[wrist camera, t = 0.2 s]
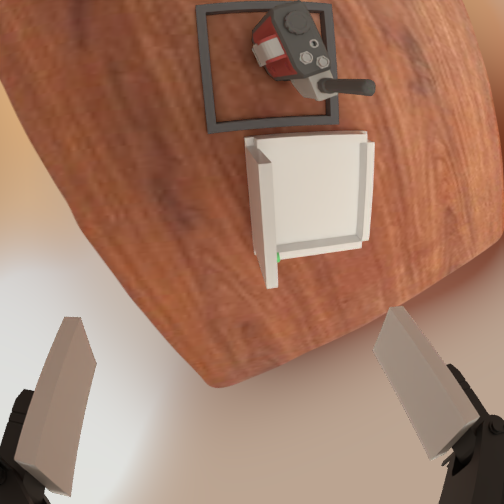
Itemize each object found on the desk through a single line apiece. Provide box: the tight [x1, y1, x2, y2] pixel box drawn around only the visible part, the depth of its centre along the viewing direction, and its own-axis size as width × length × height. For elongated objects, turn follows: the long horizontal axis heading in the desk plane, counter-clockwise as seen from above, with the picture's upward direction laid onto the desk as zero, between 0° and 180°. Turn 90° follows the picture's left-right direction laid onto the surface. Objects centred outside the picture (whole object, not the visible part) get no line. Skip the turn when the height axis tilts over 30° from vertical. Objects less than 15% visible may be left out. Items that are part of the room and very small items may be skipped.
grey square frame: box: [196, 1, 339, 134], centre depth 31 cm, size 15×15×2 cm
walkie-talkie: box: [252, 0, 375, 101], centre depth 23 cm, size 9×4×20 cm, turn 24°
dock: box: [244, 130, 375, 289], centre depth 35 cm, size 15×15×10 cm
